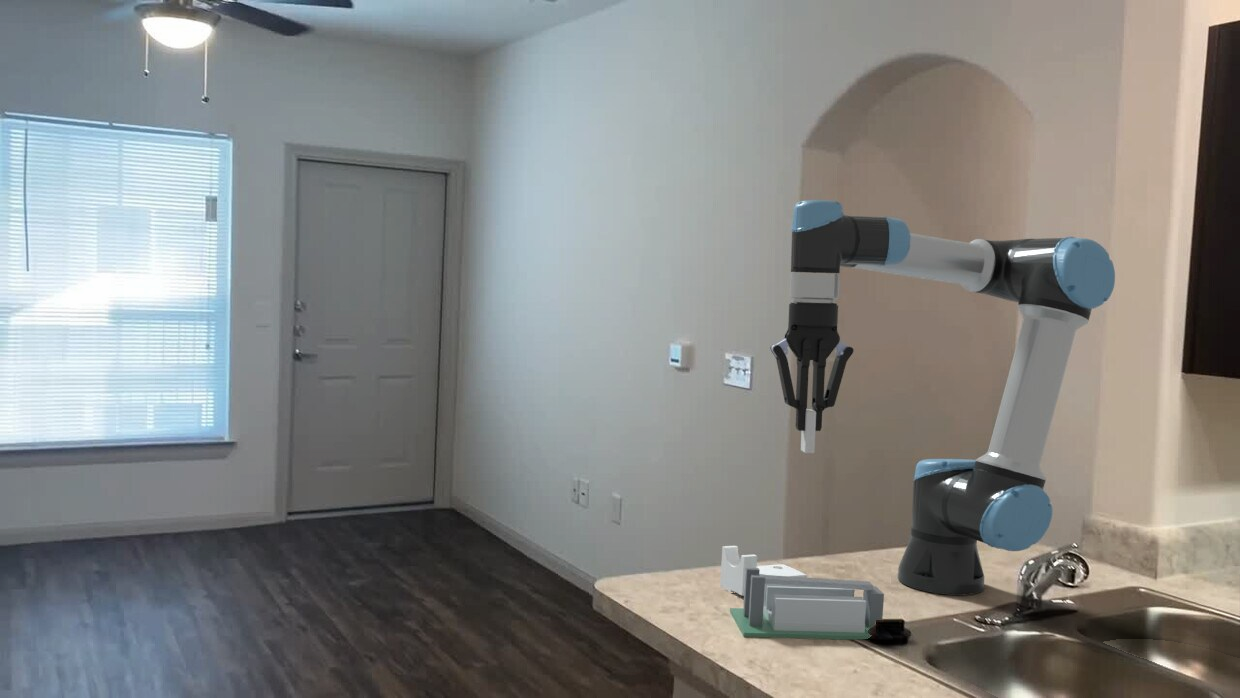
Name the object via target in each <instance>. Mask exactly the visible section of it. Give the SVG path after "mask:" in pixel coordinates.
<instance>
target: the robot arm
mask: <svg viewBox="0 0 1240 698" xmlns="http://www.w3.org/2000/svg"><path fill="white" fill-rule="evenodd" d="M791 222H792V224H791V229H790V232H791V248H790V249H791V251H790V252H791V253H790V254H791V255H790V282H789V283H790V284H789V297H790V298H791V299H793V301H791V302H790V303H789V304H788V324H787V330H786V332H785V334H784V339H782V340H780V341H779V342H778V343H774V344H771V345H770V347H769V348H770V349H769V350H770V351H771V354H773V356H774V358H775V360H776V364H777V370H778V373H779V374H778V376H779V379H780V384H781V385H780V386H781V389H782V394H783V399H784V403H785V404H786V405H788V406H789V407H792V408H794V409H795V411H796V412H795V429H796V430H797V431H800V432H801V433H800V435H801V437H800V451H801V452H803V453H805V454H815V447H816V432H821V430H822V427H823V426H822V425H823V423H822V422H823V412H824V411H825V410H826V409H827V408H832V407H834V406H835V404H836V402H837V397H838V393H839V390H840V387H841V383H842V379H843V375H844V373H845V369H846V366H847V362H848V360H850V358H851V357H852V355H853V354H854V348H853V347H851V346H848V345H846V344H845V343H844V342H843V341H841V338H840V337H841V336H840V334H839V332H838V320H839V319H838V318H839V305H838V303H836V302H835V301H836V300H838V299H839V298H840V294H839V293H840V273H841V269H840V268H841V267H842V268H852V269H857V270H865V271H870V272H871V271H872V272H878V273H883V274H891V275H896V276H897V275H898V276H902V277H904V276H905V277H910V278H916V279H923V280H924V279H925V280H930V281H937V282H943V283H950V284H955V285H961V287H962V288H963V289H964V290H965V291H967V292H970V293H976V294H982V295H986V296H991V297H994V298H998V299H1003V300H1006V301H1009V302H1014V303H1018V304H1017V305H1016V306H1017V307H1016V308H1017V309H1018V311H1019V313H1020V315H1021V316H1022V318H1023V320H1022V324H1021V328H1020V331H1019V334H1018V338H1017V341H1016V342H1017V343H1016V347H1015V350H1014V353H1013V357H1012V361H1011V364H1010V368H1009V372H1008V375H1007V379H1006V383H1005V387H1004V390H1003V394H1002V398H1001V402H1000V404H999V408H998V412H997V416H996V420H995V424H994V428H993V432H992V435H991V439H990V442H989V445H988V450H987V452H986V453H984V454H983V455H981V456H979V457H978V458H976V459H965V458H962V459H961V458H959V459H958V458H928V459H927V458H926V459H921V460H920V461H918V463H917V464H916V466H915V471H914V477H913V481H912V482H913V490H912V491H913V492H912V508H911V525H910V538H909V541H908V543H907V546H906V548H905V550H904V553H903V556H902V557H901V560H900V562H899V564H898V573H897V580H898V581H899V582H900V583H901V584H904V585H905V586H908V587H910V588H913V589H916V590H919V591H923V592H928V593H931V594H932V593H933V594H934V593H935V594H939V595H952V596H969V595H970V596H971V595H976V594H979V593H982V592H983V591H984V590H985V575H984V569H983V567H982V562H981V559H980V554H979V551H978V544H977V543H978V542H981V543H983V544H986V545H988V546H989V547H990V548H995V549H1000V550H1005V551H1008V552H1020V551H1025V550H1028V549H1029V548H1031V546H1033V545H1035V544H1038V542H1039V541H1041V539H1042V538H1043V537H1044V536H1045V535H1046V533H1047V531H1048V529H1049V528H1050V525H1051V522H1052V518H1053V506H1052V504H1051V498H1050V496H1049V495H1048V493H1047V492H1046V491H1045V489H1044V488H1045V484H1046V479H1047V478H1046V476H1045V475H1044V472H1043V471H1042V469H1041V466H1040V465H1041V462H1042V457H1043V454H1044V452H1045V451H1044V450H1045V447H1046V444H1047V440H1048V435H1049V431H1050V429H1051V425H1052V421H1053V417H1054V413H1055V409H1056V406H1057V403H1058V399H1059V395H1060V392H1061V387H1062V383H1063V380H1064V377H1065V372H1066V369H1067V366H1068V361H1069V358H1070V355H1071V350H1072V347H1073V343H1074V339H1075V336H1076V332H1077V331H1078V329H1081V328H1082V327H1084V326H1086V325H1088V323H1089V321H1090V317H1091V314H1092V310H1093V309H1096V308H1098V307H1100V306H1102V305H1104V303H1105V302H1107V301H1108V300H1109V299H1110V297H1111V296H1112V293H1113V290H1114V288H1115V281H1116V272H1115V267H1114V263H1113V261H1112V260H1111V258H1110V254H1109V253H1108V251H1107V250H1106V249H1105V247H1103V245H1101V244H1100V243H1099V242H1097V241H1095V240H1093V239H1090V238H1083V237H1082V238H1081V237H1073V236H1067V237H1052V238H1049V237H1048V238H1047V237H1046V238H1023V239H1022V238H1021V239H1008V240H1007V239H1006V240H1005V239H1004V240H988V239H983V238H976V239H974V240H973V239H972V241H971V240H970V242H966V241H960V240H953V239H948V238H942V237H937V236H936V237H934V236H929V235H925V234H924V235H923V234H918V233H913V232H910V229H909V227H908V225H907V223H905V221H903V220H902V219H901V218H893V217H888V216H859V215H856V216H855V215H854V216H853V215H846V214H844V209H843V205H842V203H841V202H839V201H836V200H835V201H834V200H823V199H822V200H821V199H820V200H818V199H816V200H813V199H811V200H808V199H807V200H801V201H798V202H797V203H796V204H795V205H794V208H793V215H792V221H791ZM788 347H789V349H790V351H791V352H792V354H793V355H794V357H796V385H795V388H796V390H794V385H793V382H792V377H791V371H790V367H789V366H790V365H789V360H788V357H787V356H786V355H787V354H788V353H789V350H788ZM833 351H834V353H835V355H836V356H835V358H834V361H833V365H832V368H831V370H830V375H829V379H828V382H827V386H826V390H825V377H826V374H825V373H826V366H827V359H828V357H830V355H831V354H832V352H833ZM811 361H812V366H813V367H812V368H813V369H812V386H811V387H812V388H811V389H812V391H811V409H810V408H809V409H808V397H809V395H808V392H809V373H810V372H809V371H810V369H809V367H810V365H811V364H810V363H811Z"/></svg>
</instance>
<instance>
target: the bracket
mask: <svg viewBox="0 0 1240 698" xmlns="http://www.w3.org/2000/svg"><path fill="white" fill-rule="evenodd" d="M721 547H722V548H721V566H720V579H719V580H720V581H719V588H720V587H722V588H724V589H726V590H728V591H729V592H736V593H735V594H738V595H740V596H743V597H744V590H745V573H746V568H759V570H760V571H759V575H775V576H791V577H806V578H808V577H807V576H808V575H807V574H806V573H804V572H802V571H799V570H798V569H796V568H793V567H790V566H788V565H786V564H784V563H782V564H779V563H778V564H771V565H770V564H769V565H767V564H766V565H758V555H756V554H741V556H740V554H739V547H738V546H737V545H725V546H721ZM729 592H728V593H729Z"/></svg>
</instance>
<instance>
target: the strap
mask: <svg viewBox="0 0 1240 698" xmlns="http://www.w3.org/2000/svg"><path fill="white" fill-rule="evenodd" d="M751 575H753V576H764V577H765V584H777V585H793V586H808V587H824V588H840V589H854V590H856V591H857V590H858V591H859V590H860V591H861V590H862V591H864V590H872V591H873V586H874V585H873V583H871V582H870V581H867V580H850V579H849V580H848V579H835V578H819V577H807V578H806V577H791V576H775V575H759V574H751ZM750 579H751V578H750Z"/></svg>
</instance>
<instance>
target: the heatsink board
mask: <svg viewBox="0 0 1240 698" xmlns="http://www.w3.org/2000/svg"><path fill="white" fill-rule="evenodd" d="M759 571H760V570H759V568H746V573H745V590H744V595H743V607H741V608H740V607H737V608H736V607H730V608H729V613H730V615H731V616H732V618H733V620H734V622H735V624H736V626H737V627H738V629H739V631H740V632H741V635H742V636H743V637H744V638H777V639H779V638H781V639H783V638H784V639H815V640H816V639H817V640H819V639H823V640H852V639H868V638H870V637H871V636H872V635H870V634H869V633H868V630H869V629H870V628H872V627H874V625H875V621H876V620H882V621H883V616H884V615H883V613H884V602H885V601H884V600H885V598H884V597H885V593H884V592H882V590H881V589H880V588H878V586H874V585H873V591H872V590H862V592H863V594H862V596H855V589H840V588H824V587H808V586H793V585H777V584H765V577H764V576H753V575H751V574H759ZM750 578H751V579H750Z"/></svg>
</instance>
